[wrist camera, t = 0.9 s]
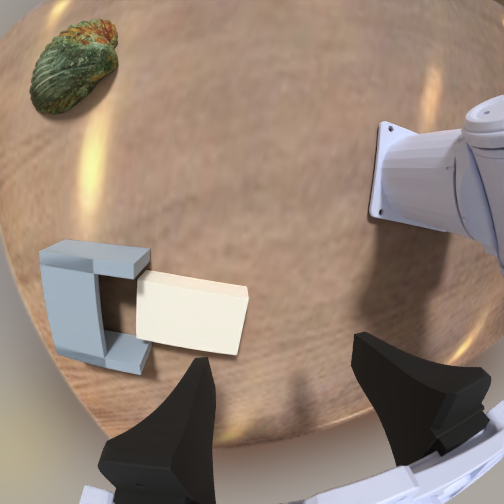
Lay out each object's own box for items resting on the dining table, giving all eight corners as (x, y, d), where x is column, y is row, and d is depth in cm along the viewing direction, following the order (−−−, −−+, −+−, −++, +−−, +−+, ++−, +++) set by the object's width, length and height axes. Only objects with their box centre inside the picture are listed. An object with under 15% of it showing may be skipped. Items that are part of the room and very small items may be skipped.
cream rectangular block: (246, 284, 22) (248, 298, 19) (235, 337, 23) (236, 355, 20) (147, 268, 21) (137, 279, 18) (144, 322, 22) (136, 337, 19)
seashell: (47, 3, 9) (130, 4, 11) (67, 17, 13) (146, 25, 15) (-4, 104, 12) (65, 125, 14) (23, 106, 16) (92, 129, 18)
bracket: (150, 248, 20) (133, 264, 16) (152, 347, 22) (140, 375, 18) (65, 239, 19) (38, 251, 15) (75, 331, 21) (56, 354, 17)
